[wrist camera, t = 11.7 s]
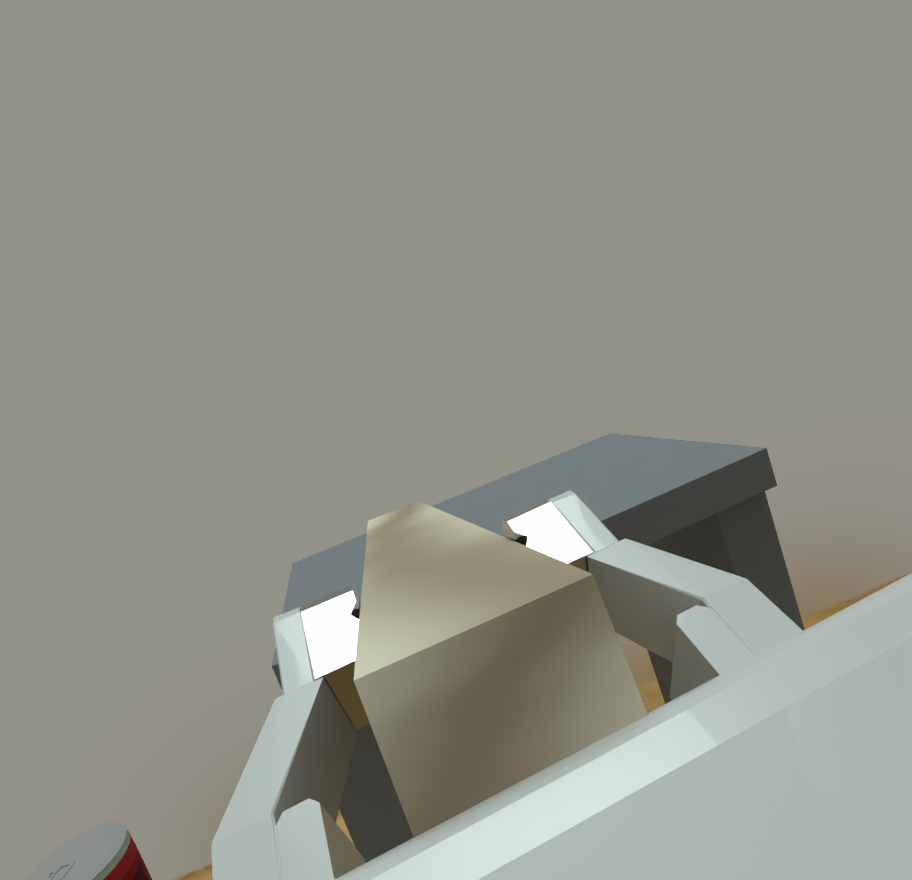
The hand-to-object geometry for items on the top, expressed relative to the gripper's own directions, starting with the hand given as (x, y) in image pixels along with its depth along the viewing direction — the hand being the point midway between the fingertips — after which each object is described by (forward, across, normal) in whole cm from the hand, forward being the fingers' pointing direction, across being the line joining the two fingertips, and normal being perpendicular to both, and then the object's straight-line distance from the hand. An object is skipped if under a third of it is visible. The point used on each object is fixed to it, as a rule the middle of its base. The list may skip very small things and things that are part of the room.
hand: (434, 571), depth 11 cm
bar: (+5, 0, +7) cm, 9 cm away
